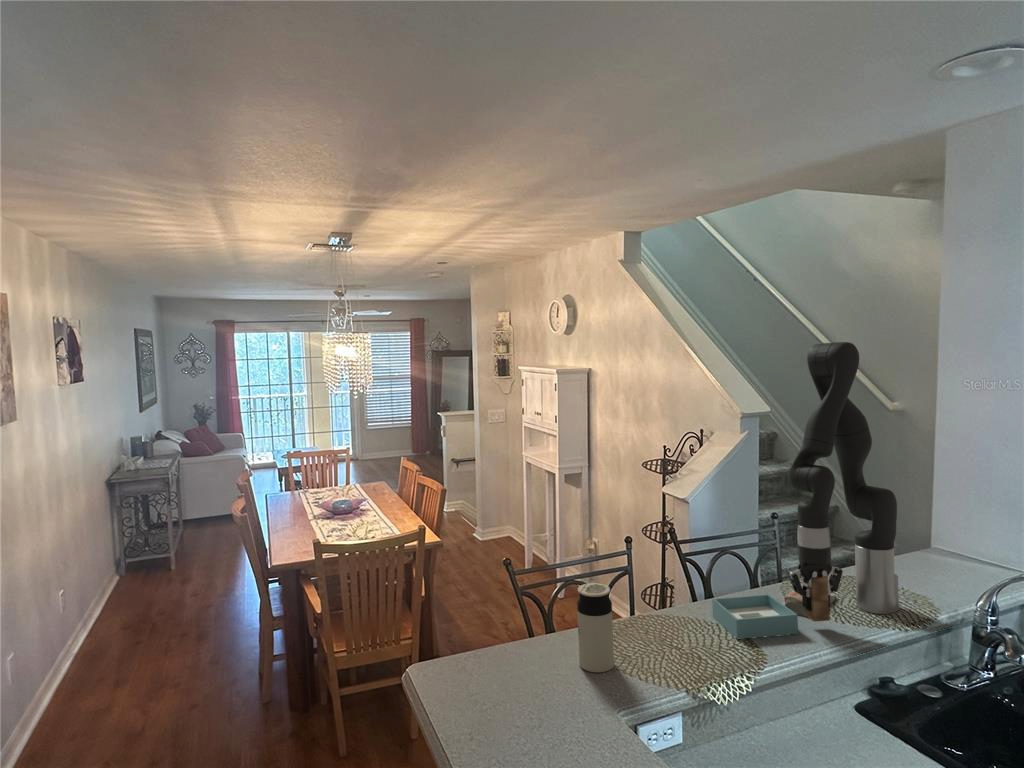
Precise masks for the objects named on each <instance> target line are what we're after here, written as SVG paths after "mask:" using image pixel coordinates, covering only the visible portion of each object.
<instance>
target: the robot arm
mask: <svg viewBox="0 0 1024 768" xmlns="http://www.w3.org/2000/svg"><path fill="white" fill-rule="evenodd" d="M806 358H807V359H806V360H807V366H808V371H809V374H810V376H811V378H812V381H813V384H814V387H815V389H816V391H817V394H818V396H819V399H820V402H819V403H818V405H816V407H815V408H814V410H813V411H812V412H811V414H810V416H809V418H808V419H807V422H806V424H805V425H806V426H805V429H804V435H803V440H802V445H801V447H800V448H799V451H798V453H797V455H796V456H795V459H794V460H793V462H792V463H791V466H790V468H789V472H788V480H789V481H788V482H789V483H790V486H791V487H792V488H793V489H794V490H796V491H801V492H807V493H812V498H811V499H808V500H803V501H800V502H799V503H798V505H797V509H796V510H797V532H796V533H797V534H796V535H797V558H798V564H799V565H798V566H797V569H795V570H793V571H792V570H788V571H787V575H788V578H789V580H790V583H791V585H792V588H793V590H794V591H795V592H796V593H798V594H799V595H801V596H802V601H803V607H804V608H805V609H806V610H807V611H812V604H811V597H810V596H811V589H812V578H816V577H820V576H822V577H828V602H829V608H830V607H831V604H830V594H833V593H837V592H838V590H839V586H840V583H841V580H842V579H841V578H842V576H843V572H844V571H843V569H842V568H840V567H837V566H836V565H834V566H833V565H832V564H831V562H832V549H831V548H832V547H831V531H830V527H829V521H830V520H829V509H830V504H831V499H832V497H833V496H832V495H833V492H834V490H835V489H834V488H835V485H836V480H835V475H834V473H833V471H832V470H831V468H829V467H828V466H823V465H816V464H815V463H816V462H817V460H819V459H821V458H823V459H824V458H829V457H830V456H832V454H833V451H834V450H835V453H836V457H837V461H838V465H839V469H840V473H841V480H842V485H843V492H844V498H845V503H846V506H847V509H848V512H849V513H850V514H851V515H852V516H853V517H855V518H858V519H861V520H866V521H871V529H867V530H862V531H857V532H856V533H855V534H854V554H855V555H854V560H855V562H854V563H855V564H854V565H855V603H856V604H855V605H856V607H857V608H859V609H860V610H862V611H865V612H868V613H872V614H877V615H879V614H880V615H889V614H893V613H895V612H896V611H899V610H900V602H899V601H900V599H899V597H900V594H899V593H900V592H899V575H898V574H896V573H895V571H896V569H895V568H896V567H895V541H896V536H897V519H898V518H897V515H898V503H897V497H896V495H895V493H894V492H893V491H892V490H891V489H888V488H883V487H879V486H878V487H877V486H871V485H868V484H867V482H866V481H865V477H864V470H863V469H864V465H865V462H866V460H867V458H868V456H869V454H870V452H871V449H872V445H873V440H872V435H871V431H870V427H869V424H868V421H867V420H868V419H867V418H866V416H865V415H864V413H863V412H862V411H861V410H860V409H859V408H858V406H856V404H854V403H853V401H852V400H851V399H850V398H849V394H850V392H851V390H852V386H853V383H854V381H855V378H856V374H857V372H858V369H859V365H860V353H859V349H858V348H857V347H856V345H855V344H854V343H852V342H850V341H838V342H823V343H815V344H813V345H812V346H810V348H809V350H808V351H807V357H806ZM801 576H802V577H801ZM800 580H801V582H800ZM805 580H806V581H808V582H809V584H808V583H806V581H805ZM801 584H802V586H801Z"/></svg>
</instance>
